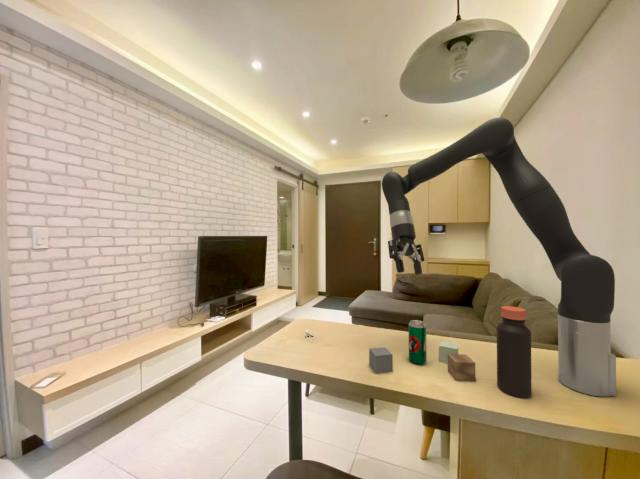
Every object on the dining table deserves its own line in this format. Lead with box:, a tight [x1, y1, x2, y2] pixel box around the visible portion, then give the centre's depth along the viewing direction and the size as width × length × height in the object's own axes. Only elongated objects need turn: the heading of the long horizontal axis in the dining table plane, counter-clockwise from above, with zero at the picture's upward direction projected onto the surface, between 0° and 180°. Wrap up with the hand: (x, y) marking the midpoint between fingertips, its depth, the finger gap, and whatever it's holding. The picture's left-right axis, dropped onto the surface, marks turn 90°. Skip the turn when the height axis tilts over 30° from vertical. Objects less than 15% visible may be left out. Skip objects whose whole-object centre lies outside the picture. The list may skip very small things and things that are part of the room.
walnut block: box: [447, 353, 477, 383], centre depth 70 cm, size 5×5×5 cm
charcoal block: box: [368, 346, 394, 374], centre depth 74 cm, size 5×5×5 cm
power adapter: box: [304, 328, 314, 338], centre depth 99 cm, size 3×3×3 cm
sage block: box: [438, 339, 459, 365], centre depth 79 cm, size 5×5×5 cm
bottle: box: [496, 305, 533, 399], centre depth 63 cm, size 7×7×20 cm
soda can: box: [408, 319, 427, 366], centre depth 78 cm, size 5×5×12 cm
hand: (410, 273), depth 82 cm, fingers open, 8 cm apart
